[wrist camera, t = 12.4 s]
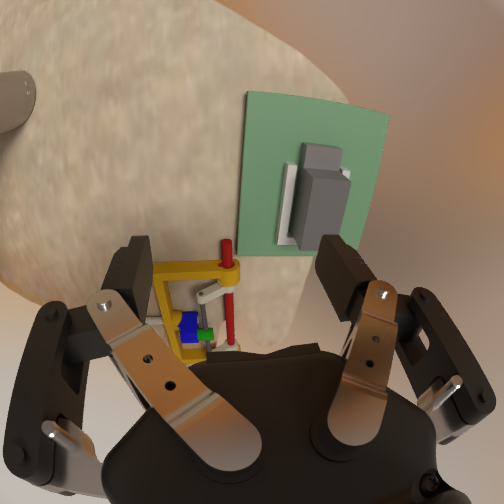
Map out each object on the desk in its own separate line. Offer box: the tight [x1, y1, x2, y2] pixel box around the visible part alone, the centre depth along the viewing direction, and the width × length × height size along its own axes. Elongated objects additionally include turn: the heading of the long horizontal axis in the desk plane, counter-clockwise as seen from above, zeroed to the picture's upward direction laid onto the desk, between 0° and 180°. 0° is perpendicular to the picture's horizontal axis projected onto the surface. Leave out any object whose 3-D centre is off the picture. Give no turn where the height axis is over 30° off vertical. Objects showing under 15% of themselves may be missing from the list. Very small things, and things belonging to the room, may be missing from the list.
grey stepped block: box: [290, 142, 352, 251], centre depth 36 cm, size 13×5×6 cm, turn 175°
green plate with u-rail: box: [237, 91, 390, 256], centre depth 38 cm, size 20×24×3 cm
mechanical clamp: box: [145, 239, 240, 364], centre depth 48 cm, size 18×6×30 cm
